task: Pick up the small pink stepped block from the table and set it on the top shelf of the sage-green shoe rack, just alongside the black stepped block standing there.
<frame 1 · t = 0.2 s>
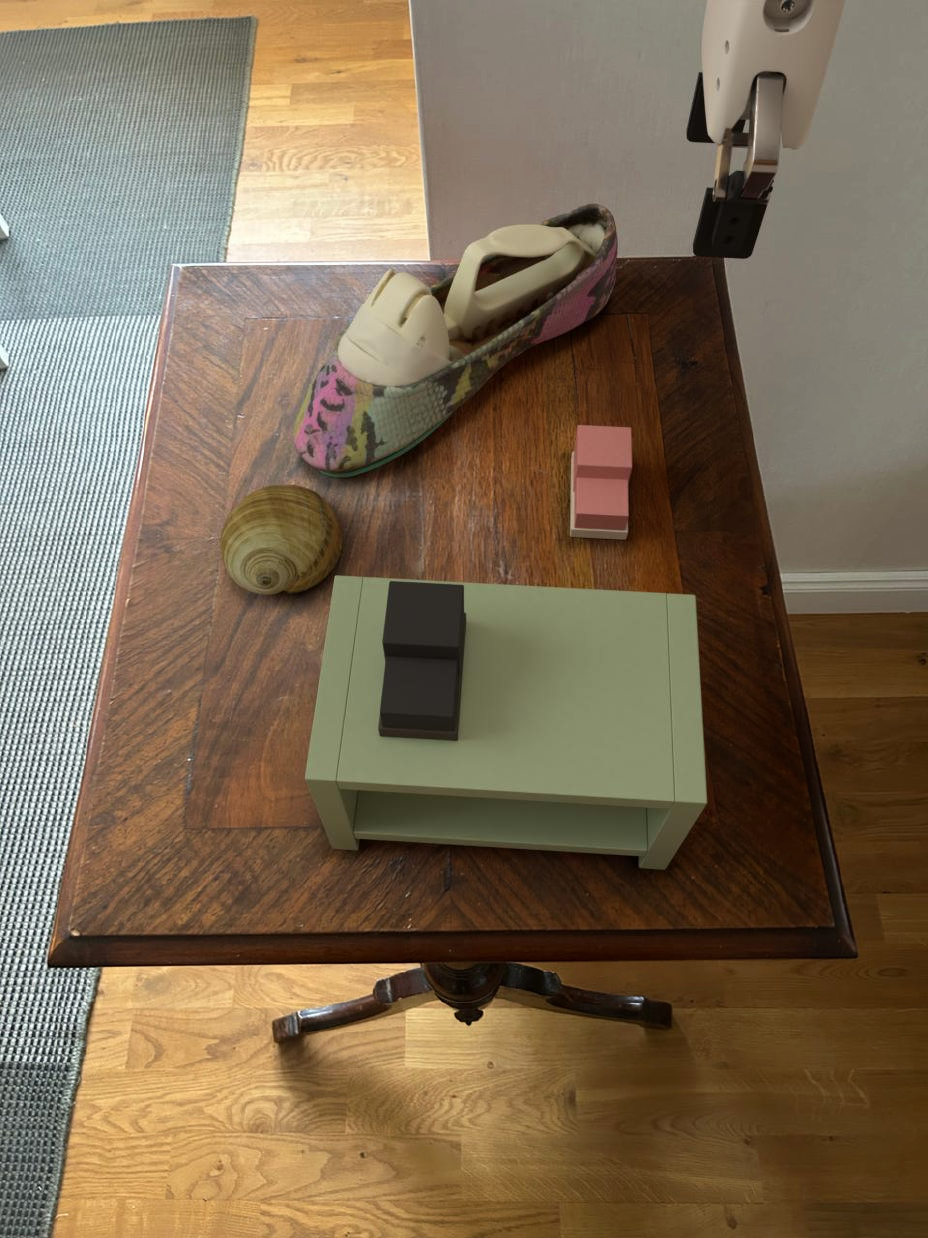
hand: (716, 194, 58), 21 cm above the table, tool pointing down, fingers open, 9 cm apart
black stepped block: (424, 677, 53), point 12 cm above the table, touching shoe rack
pink stepped block: (597, 498, 74), on the table
shoe rack: (502, 765, 63), on the table
seashell: (286, 553, 71), on the table
ballet flat: (461, 374, 80), on the table
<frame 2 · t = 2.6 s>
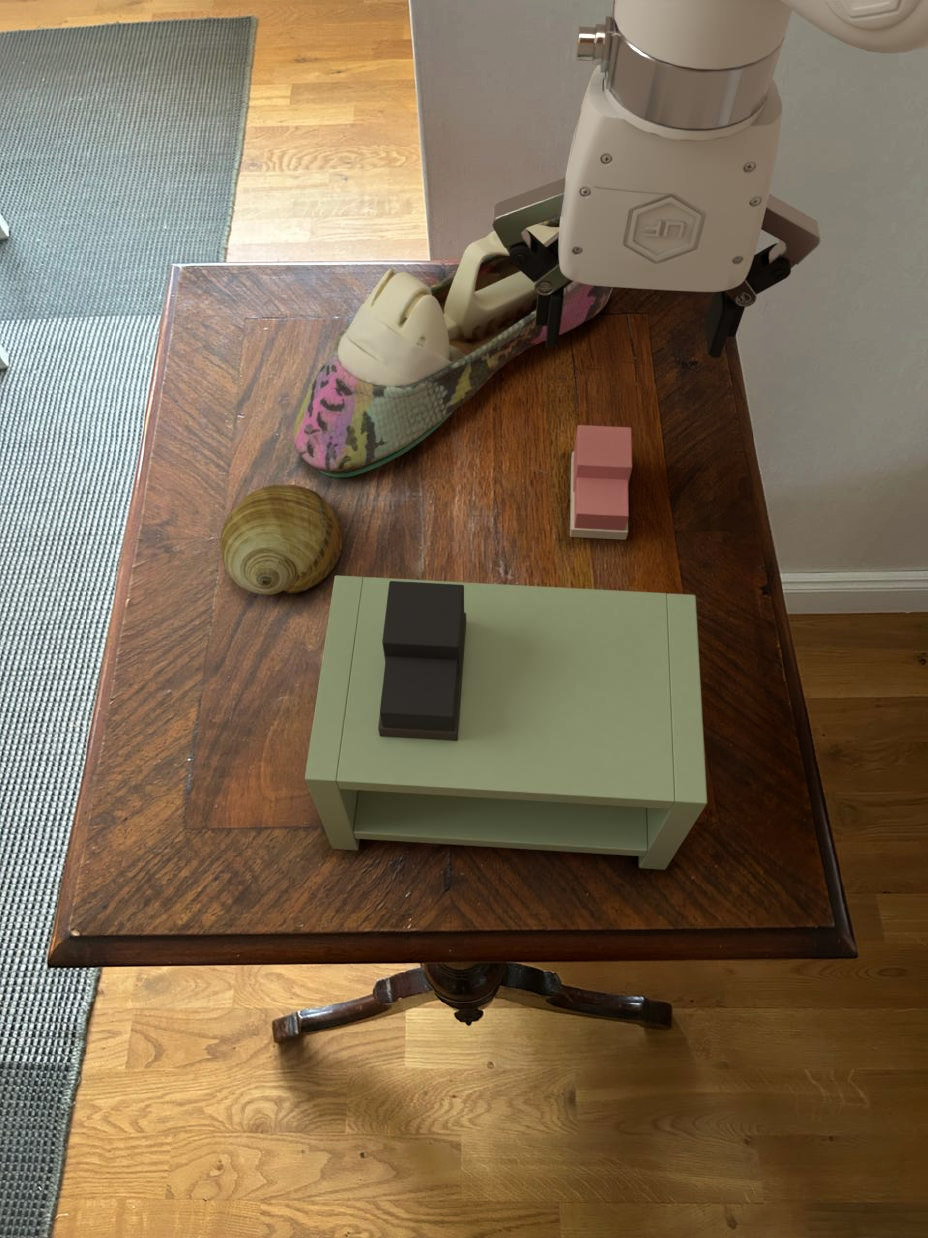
hand: (631, 335, 61), 15 cm above the table, tool pointing down, fingers open, 9 cm apart
nothing on the table moved.
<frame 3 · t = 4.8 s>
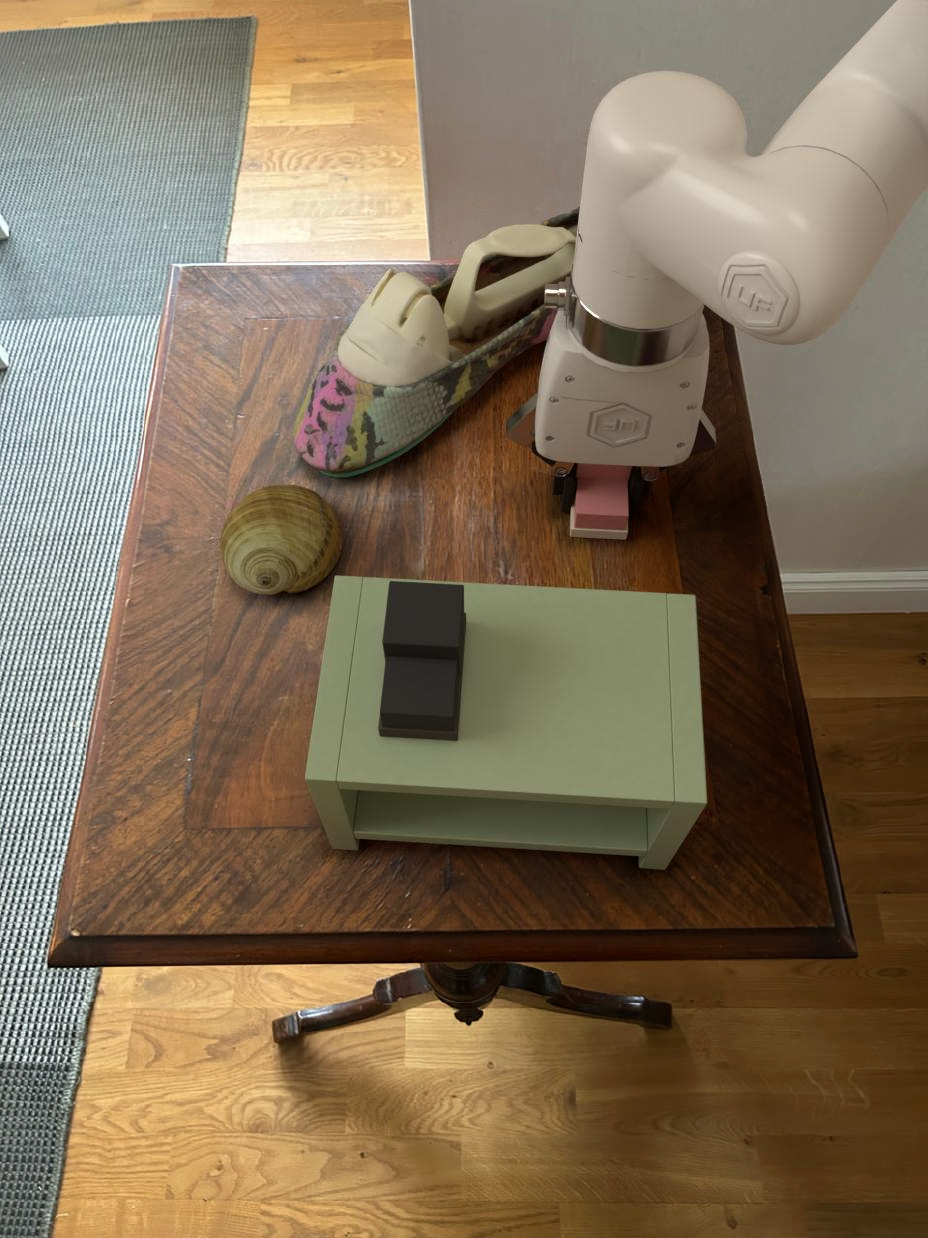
hand: (598, 496, 73), 0 cm above the table, tool pointing down, fingers closed on pink stepped block, 4 cm apart
pink stepped block: (597, 498, 74), on the table, touching gripper
everything else where it was.
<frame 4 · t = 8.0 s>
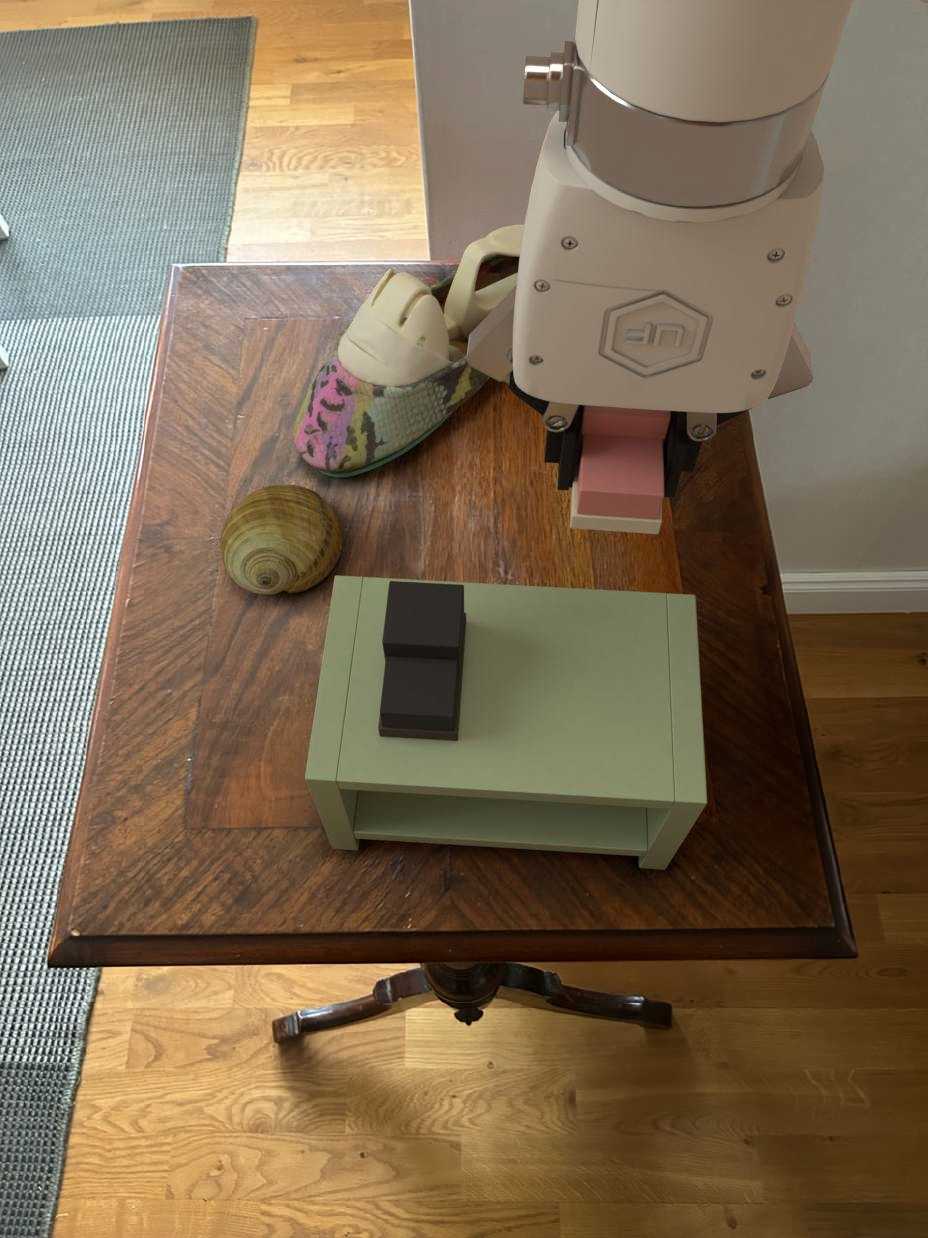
hand: (615, 466, 47), 22 cm above the table, tool pointing down, fingers closed on pink stepped block, 4 cm apart
pink stepped block: (615, 470, 47), point 22 cm above the table, touching gripper
everything else where it was.
when the fingers open (12 cm above the table, at t = 11.2 s): pink stepped block stays where it is, resting on shoe rack.
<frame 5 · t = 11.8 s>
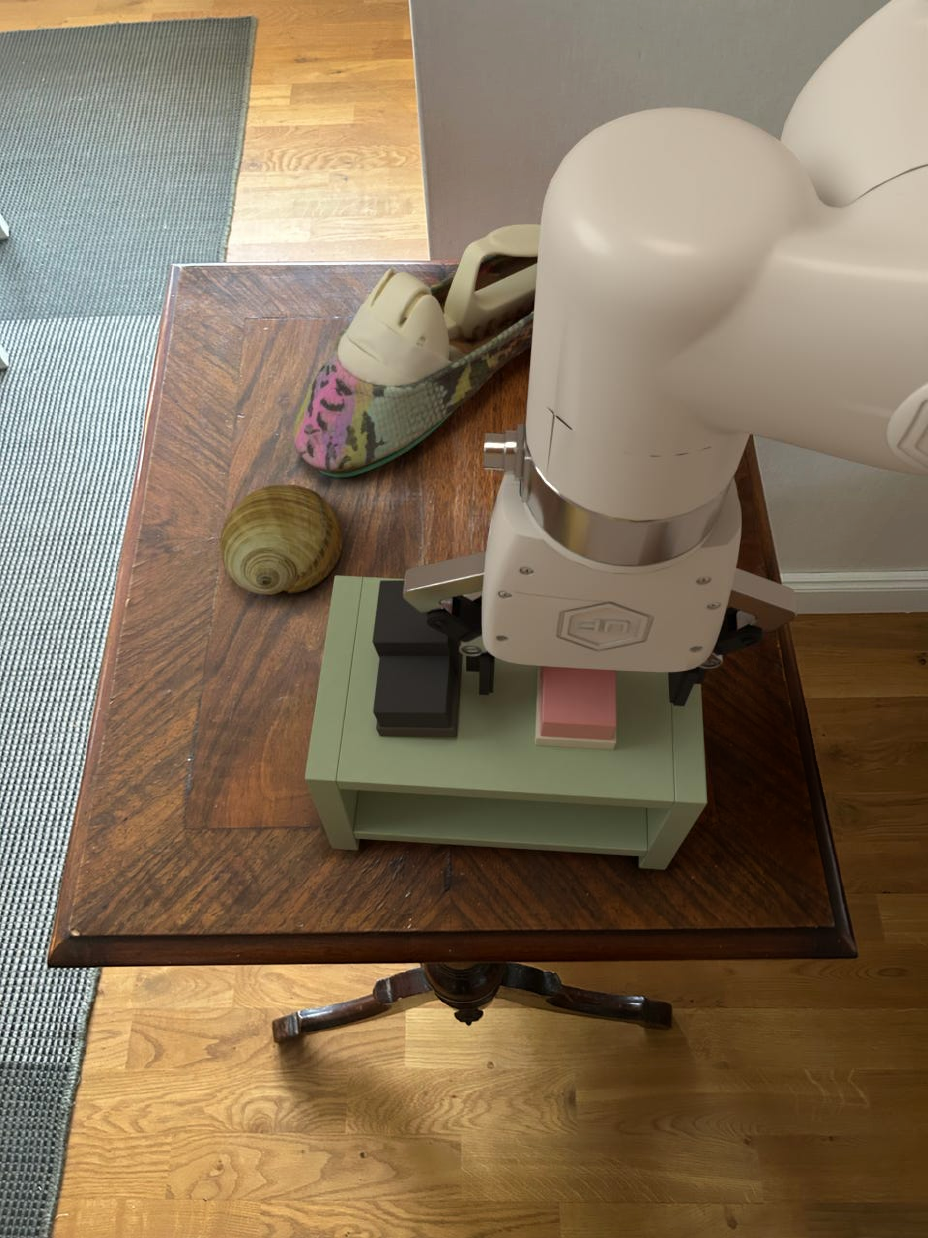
hand: (580, 674, 52), 13 cm above the table, tool pointing down, fingers open, 9 cm apart
black stepped block: (423, 675, 53), point 12 cm above the table, tilted 7°, touching gripper, shoe rack
pink stepped block: (574, 685, 53), point 12 cm above the table, touching shoe rack
everything else where it was.
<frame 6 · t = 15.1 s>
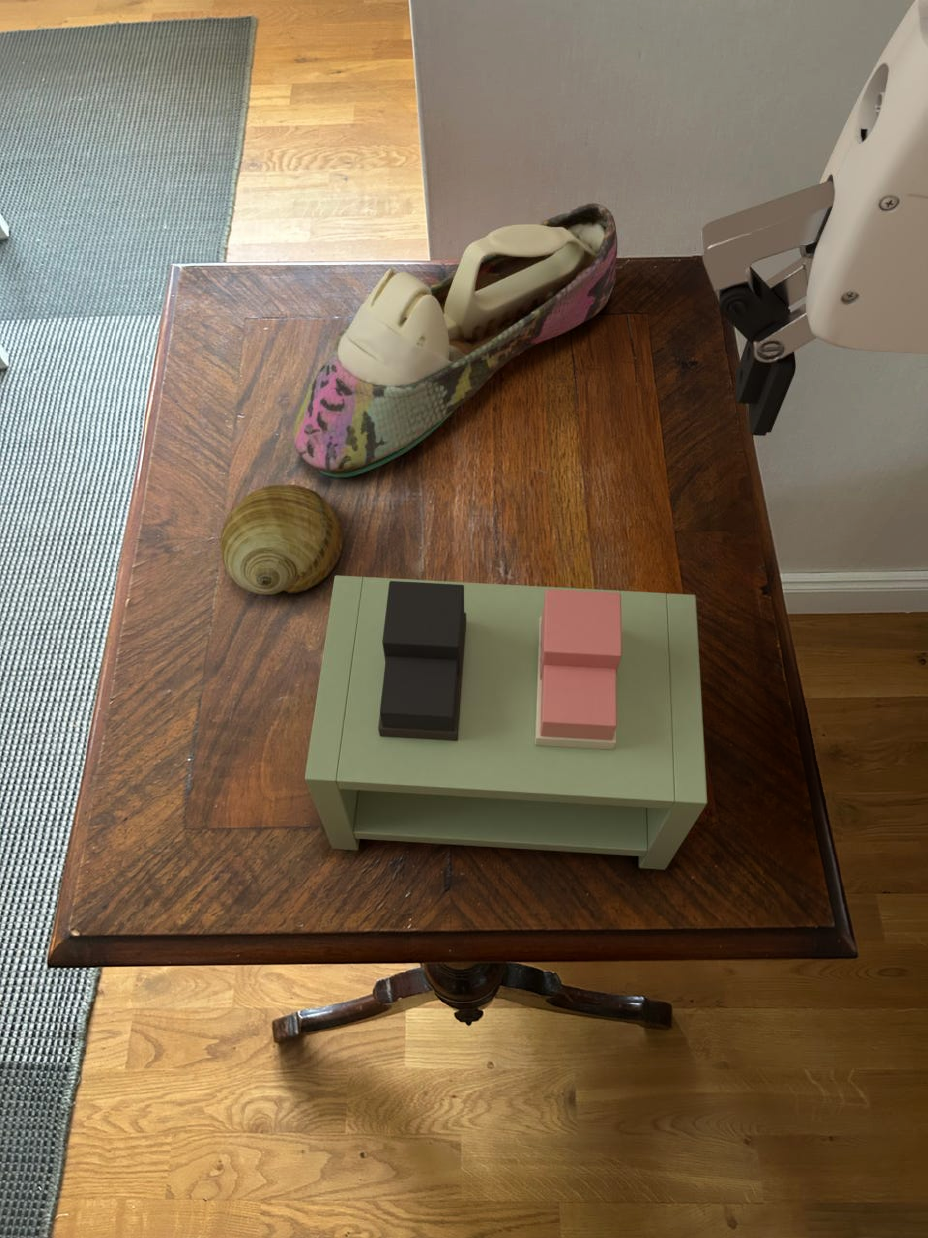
hand: (876, 414, 41), 28 cm above the table, tool pointing down, fingers open, 9 cm apart
black stepped block: (424, 677, 53), point 12 cm above the table, touching shoe rack
everything else where it was.
at the end: pink stepped block inside the target area on the shoe rack (0.6 cm from its centre), point 12.0 cm above the shoe rack's base; pink stepped block tilted 0°; black stepped block moved 0.0 cm from its start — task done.
